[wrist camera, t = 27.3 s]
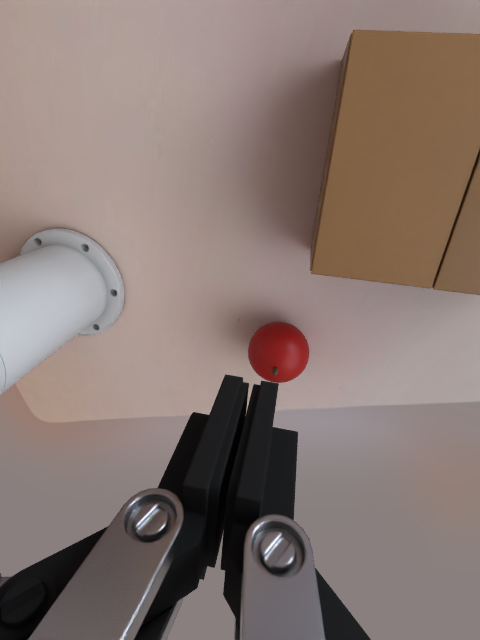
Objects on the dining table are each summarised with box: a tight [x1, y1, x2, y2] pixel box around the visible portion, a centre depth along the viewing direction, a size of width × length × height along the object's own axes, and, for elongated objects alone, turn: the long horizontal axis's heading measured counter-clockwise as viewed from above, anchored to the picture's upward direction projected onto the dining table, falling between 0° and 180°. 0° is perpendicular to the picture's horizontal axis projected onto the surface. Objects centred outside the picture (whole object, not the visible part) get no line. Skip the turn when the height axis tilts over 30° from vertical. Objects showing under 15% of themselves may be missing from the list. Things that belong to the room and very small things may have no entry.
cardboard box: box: [310, 33, 480, 295], centre depth 25 cm, size 18×15×7 cm
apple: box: [248, 322, 309, 383], centre depth 35 cm, size 6×6×7 cm
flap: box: [311, 30, 480, 288], centre depth 23 cm, size 9×15×1 cm, turn 176°
